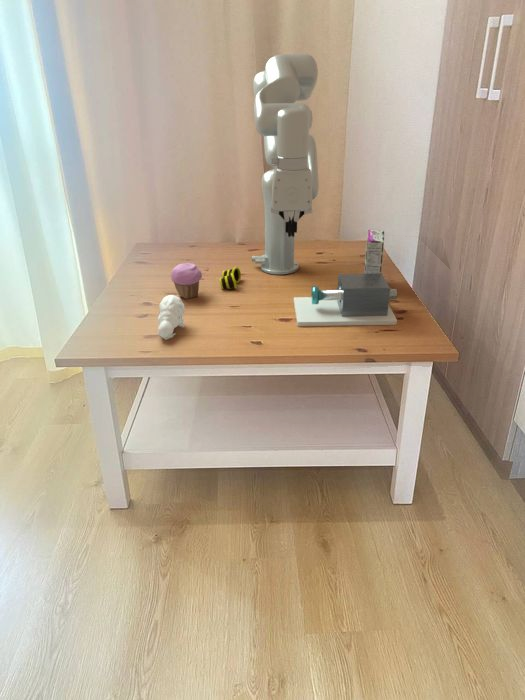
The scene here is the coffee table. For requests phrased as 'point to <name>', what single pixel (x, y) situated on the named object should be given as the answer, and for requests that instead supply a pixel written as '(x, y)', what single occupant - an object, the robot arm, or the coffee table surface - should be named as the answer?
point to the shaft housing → (363, 295)
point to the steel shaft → (335, 294)
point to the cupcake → (186, 279)
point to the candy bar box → (374, 251)
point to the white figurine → (170, 316)
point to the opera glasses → (230, 278)
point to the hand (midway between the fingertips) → (291, 235)
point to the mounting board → (333, 314)
